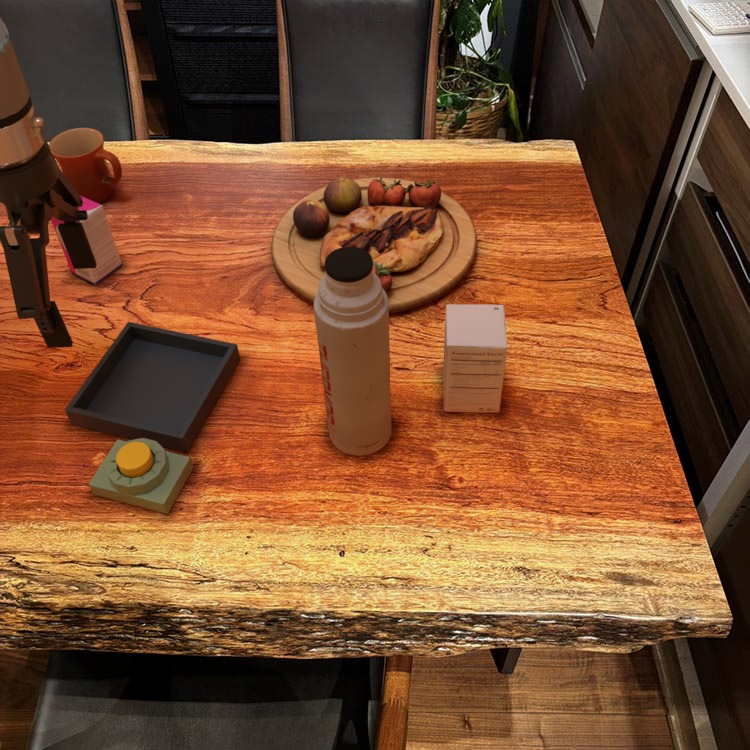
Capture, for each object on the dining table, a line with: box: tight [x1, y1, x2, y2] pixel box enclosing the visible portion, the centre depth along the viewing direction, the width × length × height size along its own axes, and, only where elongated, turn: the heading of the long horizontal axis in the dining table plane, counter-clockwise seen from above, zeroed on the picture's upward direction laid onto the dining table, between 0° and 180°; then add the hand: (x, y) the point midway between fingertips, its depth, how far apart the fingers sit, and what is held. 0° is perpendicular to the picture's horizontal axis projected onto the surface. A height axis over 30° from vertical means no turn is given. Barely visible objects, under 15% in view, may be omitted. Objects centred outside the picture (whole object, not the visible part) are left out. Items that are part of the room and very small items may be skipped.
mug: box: [48, 127, 123, 204], centre depth 133 cm, size 12×9×10 cm
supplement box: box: [50, 196, 123, 287], centre depth 120 cm, size 6×6×12 cm
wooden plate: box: [270, 176, 478, 314], centre depth 123 cm, size 32×32×8 cm
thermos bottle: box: [313, 247, 393, 457], centre depth 91 cm, size 8×8×28 cm
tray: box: [64, 321, 241, 454], centre depth 106 cm, size 17×17×3 cm
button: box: [116, 442, 154, 478], centre depth 94 cm, size 4×4×2 cm
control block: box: [88, 438, 194, 515], centre depth 96 cm, size 10×7×4 cm
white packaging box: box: [442, 303, 509, 414], centre depth 101 cm, size 7×7×13 cm
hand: (73, 304), depth 96 cm, fingers open, 13 cm apart
